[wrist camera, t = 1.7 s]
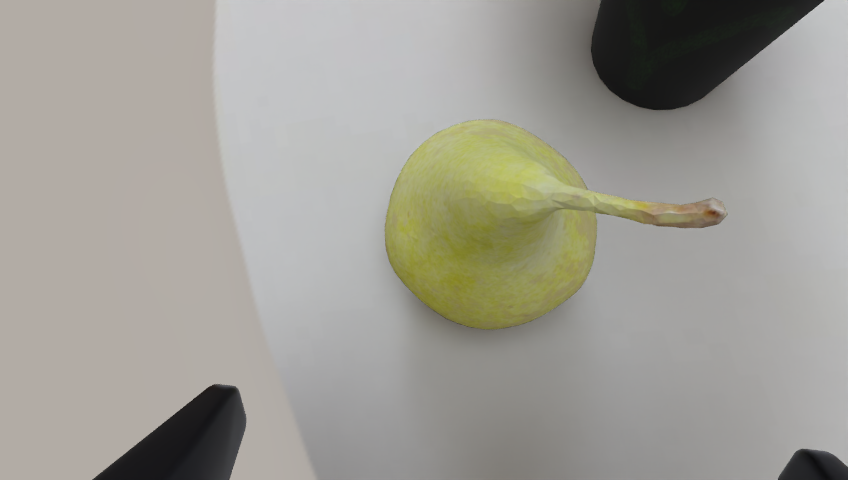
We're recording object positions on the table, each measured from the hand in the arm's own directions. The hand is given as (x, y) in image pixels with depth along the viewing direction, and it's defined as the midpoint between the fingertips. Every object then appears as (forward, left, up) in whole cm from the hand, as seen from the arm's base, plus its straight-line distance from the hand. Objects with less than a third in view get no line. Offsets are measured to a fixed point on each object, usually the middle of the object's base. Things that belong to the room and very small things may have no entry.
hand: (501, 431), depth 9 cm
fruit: (+5, +1, -12) cm, 13 cm away
